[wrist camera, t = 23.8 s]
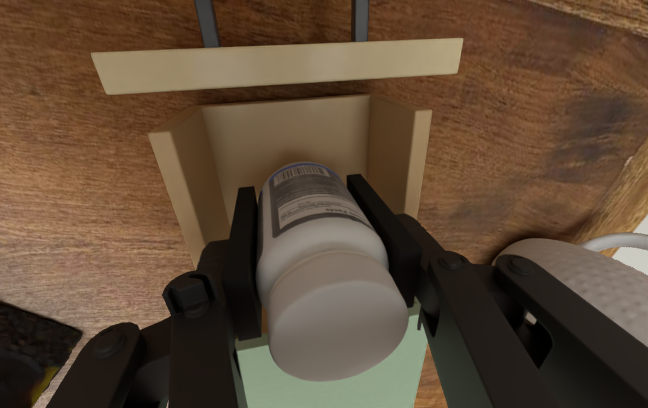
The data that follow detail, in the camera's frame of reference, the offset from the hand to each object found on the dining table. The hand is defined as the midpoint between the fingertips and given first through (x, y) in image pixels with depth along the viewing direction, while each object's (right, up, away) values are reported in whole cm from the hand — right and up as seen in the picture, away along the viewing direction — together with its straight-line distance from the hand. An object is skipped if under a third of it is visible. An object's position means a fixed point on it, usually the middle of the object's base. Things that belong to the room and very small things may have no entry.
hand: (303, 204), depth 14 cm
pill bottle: (0, 0, 0) cm, 1 cm away
